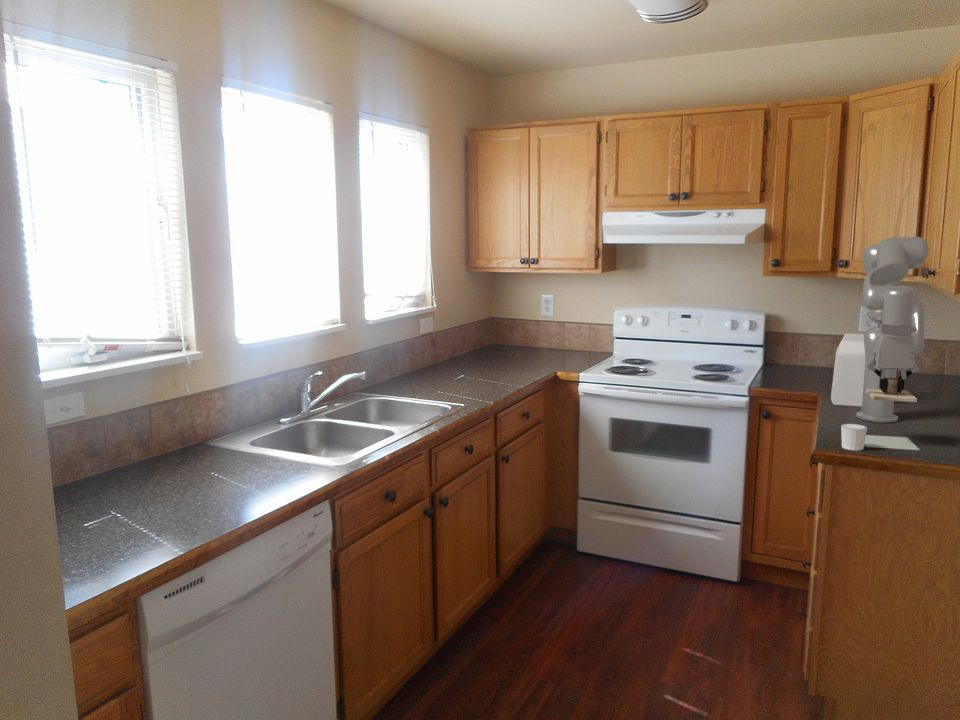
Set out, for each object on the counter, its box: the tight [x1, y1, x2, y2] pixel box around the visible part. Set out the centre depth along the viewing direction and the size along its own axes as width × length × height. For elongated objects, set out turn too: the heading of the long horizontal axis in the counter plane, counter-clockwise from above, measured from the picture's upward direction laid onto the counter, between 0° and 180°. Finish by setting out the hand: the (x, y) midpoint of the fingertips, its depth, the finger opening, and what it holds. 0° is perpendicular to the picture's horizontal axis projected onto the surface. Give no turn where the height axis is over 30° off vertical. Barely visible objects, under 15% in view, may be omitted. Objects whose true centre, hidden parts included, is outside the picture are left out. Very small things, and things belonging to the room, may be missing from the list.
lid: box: [866, 377, 918, 403], centre depth 213 cm, size 11×11×6 cm
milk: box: [830, 333, 865, 407], centre depth 268 cm, size 12×12×26 cm
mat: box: [864, 434, 921, 451], centre depth 215 cm, size 14×14×1 cm
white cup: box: [840, 423, 868, 451], centre depth 209 cm, size 7×7×7 cm
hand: (891, 391), depth 213 cm, fingers closed on lid, 3 cm apart
